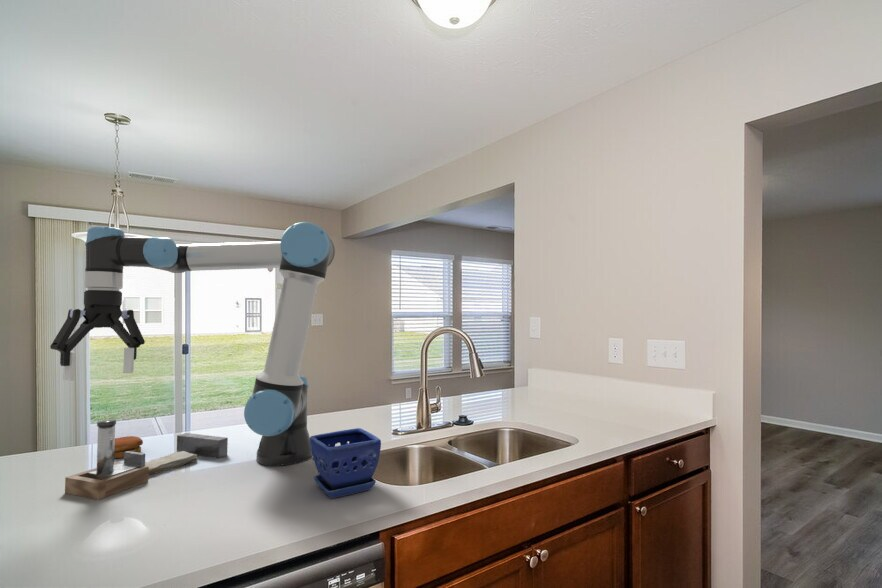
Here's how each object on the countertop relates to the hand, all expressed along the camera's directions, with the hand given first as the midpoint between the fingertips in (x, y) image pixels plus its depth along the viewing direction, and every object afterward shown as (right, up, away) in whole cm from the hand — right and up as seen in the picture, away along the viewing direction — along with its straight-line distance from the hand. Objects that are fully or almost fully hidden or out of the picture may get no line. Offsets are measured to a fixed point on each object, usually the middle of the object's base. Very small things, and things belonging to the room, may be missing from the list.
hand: (100, 376), depth 109 cm
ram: (+6, -24, -2) cm, 25 cm away
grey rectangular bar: (+14, -26, +20) cm, 36 cm away
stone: (+11, -27, +11) cm, 31 cm away
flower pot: (+61, -25, -5) cm, 66 cm away
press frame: (+6, -25, -4) cm, 26 cm away
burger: (-9, -27, +20) cm, 35 cm away
